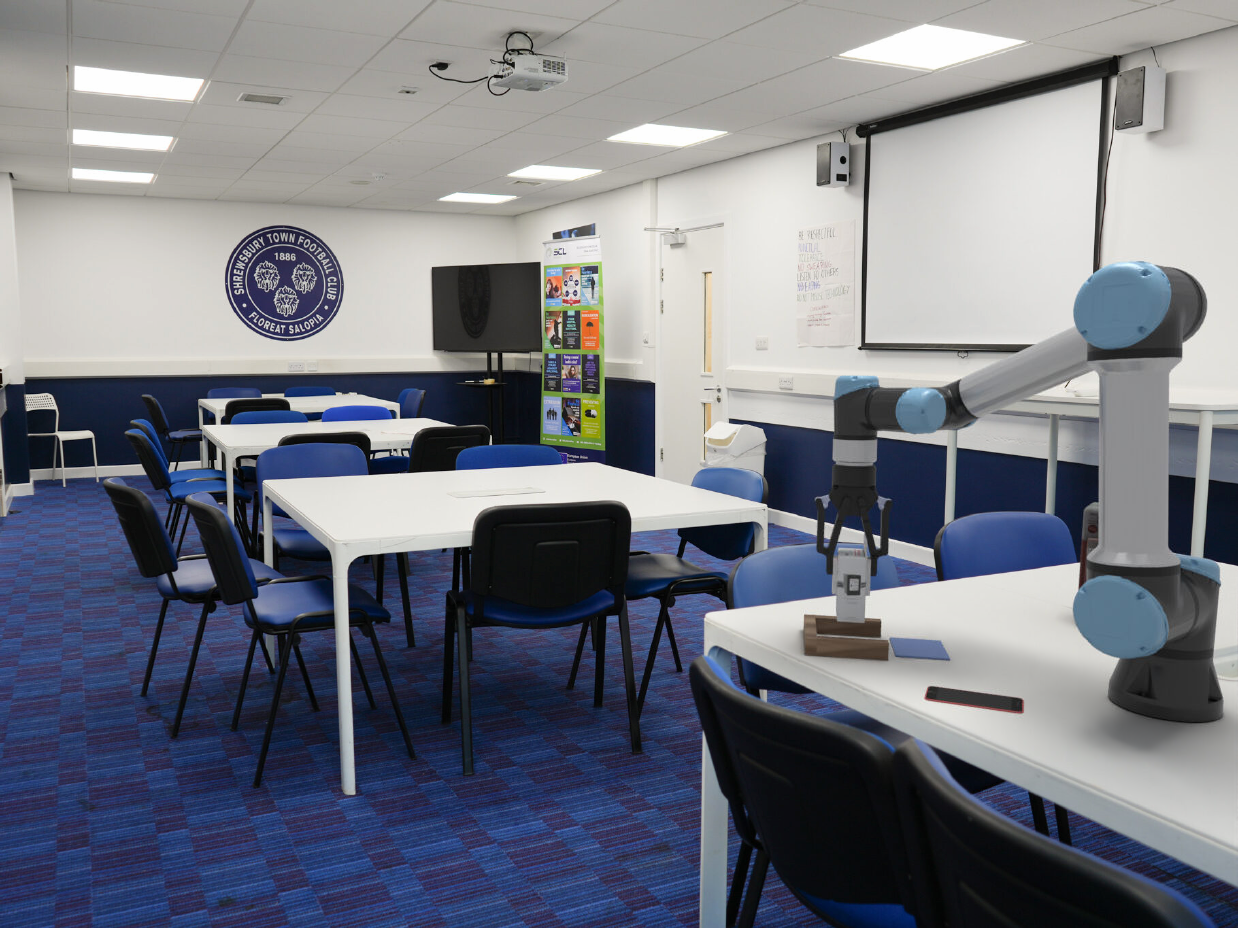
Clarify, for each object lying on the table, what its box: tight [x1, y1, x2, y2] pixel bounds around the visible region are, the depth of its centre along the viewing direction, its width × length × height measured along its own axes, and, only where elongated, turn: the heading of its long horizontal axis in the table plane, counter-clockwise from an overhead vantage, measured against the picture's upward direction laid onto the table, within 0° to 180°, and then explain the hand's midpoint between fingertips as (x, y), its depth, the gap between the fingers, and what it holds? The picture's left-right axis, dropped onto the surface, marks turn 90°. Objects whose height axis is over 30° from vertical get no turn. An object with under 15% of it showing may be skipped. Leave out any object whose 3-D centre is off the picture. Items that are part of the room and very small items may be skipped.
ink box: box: [835, 532, 868, 623], centre depth 174 cm, size 9×5×15 cm, turn 168°
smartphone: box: [924, 685, 1025, 715], centre depth 148 cm, size 7×1×14 cm
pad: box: [889, 636, 951, 661], centre depth 173 cm, size 11×9×1 cm
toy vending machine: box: [1077, 501, 1099, 592], centre depth 190 cm, size 9×11×28 cm
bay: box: [803, 613, 890, 661], centre depth 175 cm, size 16×14×3 cm
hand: (850, 592), depth 174 cm, fingers closed on ink box, 5 cm apart
